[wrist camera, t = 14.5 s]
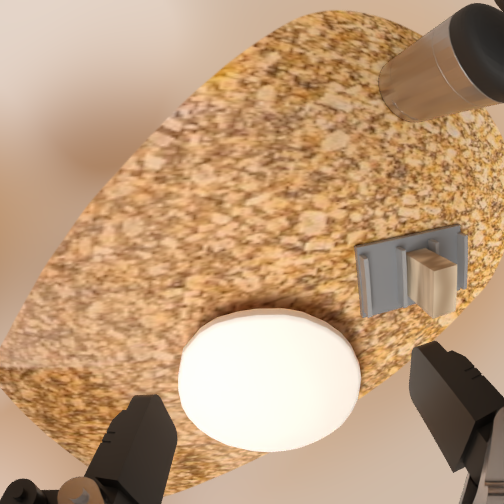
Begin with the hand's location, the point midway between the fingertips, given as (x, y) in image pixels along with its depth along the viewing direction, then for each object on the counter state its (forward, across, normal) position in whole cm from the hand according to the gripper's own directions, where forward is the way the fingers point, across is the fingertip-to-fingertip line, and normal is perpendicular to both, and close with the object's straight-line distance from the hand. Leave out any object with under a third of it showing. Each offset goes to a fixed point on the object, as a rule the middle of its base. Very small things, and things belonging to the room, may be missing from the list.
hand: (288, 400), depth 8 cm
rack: (+30, -19, +10) cm, 37 cm away
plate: (+31, +4, +23) cm, 38 cm away
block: (+29, -19, +10) cm, 36 cm away
